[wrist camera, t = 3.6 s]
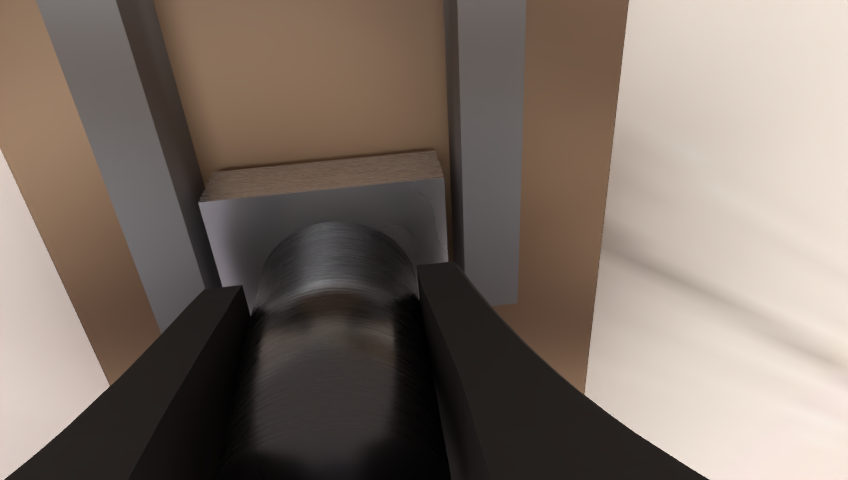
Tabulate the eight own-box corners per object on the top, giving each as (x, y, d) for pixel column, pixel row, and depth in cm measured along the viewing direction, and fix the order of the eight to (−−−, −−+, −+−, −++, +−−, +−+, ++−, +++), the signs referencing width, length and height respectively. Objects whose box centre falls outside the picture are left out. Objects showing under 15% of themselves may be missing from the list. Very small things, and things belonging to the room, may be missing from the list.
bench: (557, 518, 19) (609, 676, 15) (215, 567, 18) (180, 745, 15) (629, -248, 9) (837, -352, 5) (-116, -206, 8) (-513, -294, 4)
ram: (449, 423, 14) (502, 695, 9) (285, 444, 14) (253, 735, 9) (434, 150, 11) (507, 364, 6) (212, 172, 10) (93, 415, 6)
